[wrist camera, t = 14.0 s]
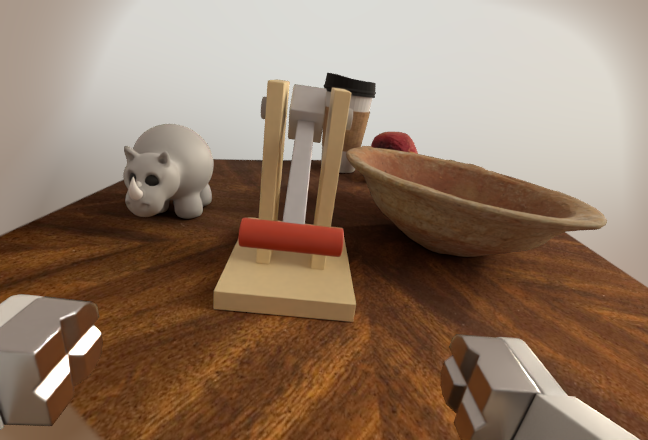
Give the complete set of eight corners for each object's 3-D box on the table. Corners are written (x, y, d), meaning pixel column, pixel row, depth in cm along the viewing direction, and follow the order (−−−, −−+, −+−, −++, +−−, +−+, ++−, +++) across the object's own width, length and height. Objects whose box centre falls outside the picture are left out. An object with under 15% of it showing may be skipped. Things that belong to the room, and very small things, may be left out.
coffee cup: (314, 159, 64) (324, 72, 58) (358, 165, 64) (373, 79, 59) (313, 171, 56) (326, 72, 50) (364, 177, 57) (382, 80, 51)
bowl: (638, 310, 29) (690, 223, 26) (369, 308, 24) (393, 202, 21) (479, 207, 50) (497, 152, 47) (319, 195, 45) (327, 134, 42)
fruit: (416, 182, 58) (427, 135, 55) (405, 193, 52) (418, 139, 49) (373, 172, 61) (381, 126, 58) (357, 180, 54) (366, 129, 51)
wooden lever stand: (352, 322, 22) (398, 101, 17) (213, 309, 22) (215, 75, 17) (340, 240, 33) (365, 91, 28) (247, 230, 33) (255, 75, 28)
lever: (337, 267, 18) (345, 242, 16) (240, 256, 17) (236, 230, 15) (341, 120, 25) (347, 91, 23) (272, 111, 25) (272, 80, 23)
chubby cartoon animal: (86, 242, 27) (70, 133, 24) (156, 194, 38) (151, 115, 35) (179, 253, 27) (175, 147, 24) (221, 202, 38) (222, 124, 35)
